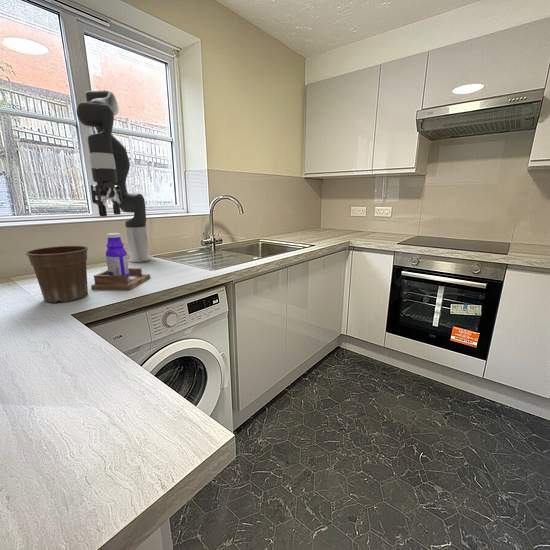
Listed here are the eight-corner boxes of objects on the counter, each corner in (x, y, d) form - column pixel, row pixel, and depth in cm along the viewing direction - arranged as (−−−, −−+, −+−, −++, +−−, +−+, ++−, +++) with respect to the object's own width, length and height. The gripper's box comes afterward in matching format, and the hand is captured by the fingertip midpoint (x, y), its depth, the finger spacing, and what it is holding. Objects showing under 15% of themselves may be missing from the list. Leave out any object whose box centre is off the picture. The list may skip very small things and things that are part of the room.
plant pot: (73, 287, 109) (65, 243, 105) (106, 292, 104) (99, 246, 100) (24, 302, 94) (12, 252, 90) (60, 308, 89) (49, 256, 85)
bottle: (133, 277, 115) (127, 232, 111) (122, 281, 110) (115, 234, 106) (117, 276, 117) (111, 232, 113) (106, 280, 112) (99, 234, 107)
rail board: (117, 277, 122) (115, 266, 121) (150, 277, 121) (148, 267, 120) (91, 289, 107) (89, 277, 105) (129, 290, 106) (127, 278, 105)
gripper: (105, 169, 110) (112, 213, 114) (79, 166, 96) (87, 216, 100) (125, 169, 109) (131, 214, 114) (101, 166, 96) (109, 217, 100)
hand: (110, 215), depth 107 cm, fingers open, 8 cm apart
